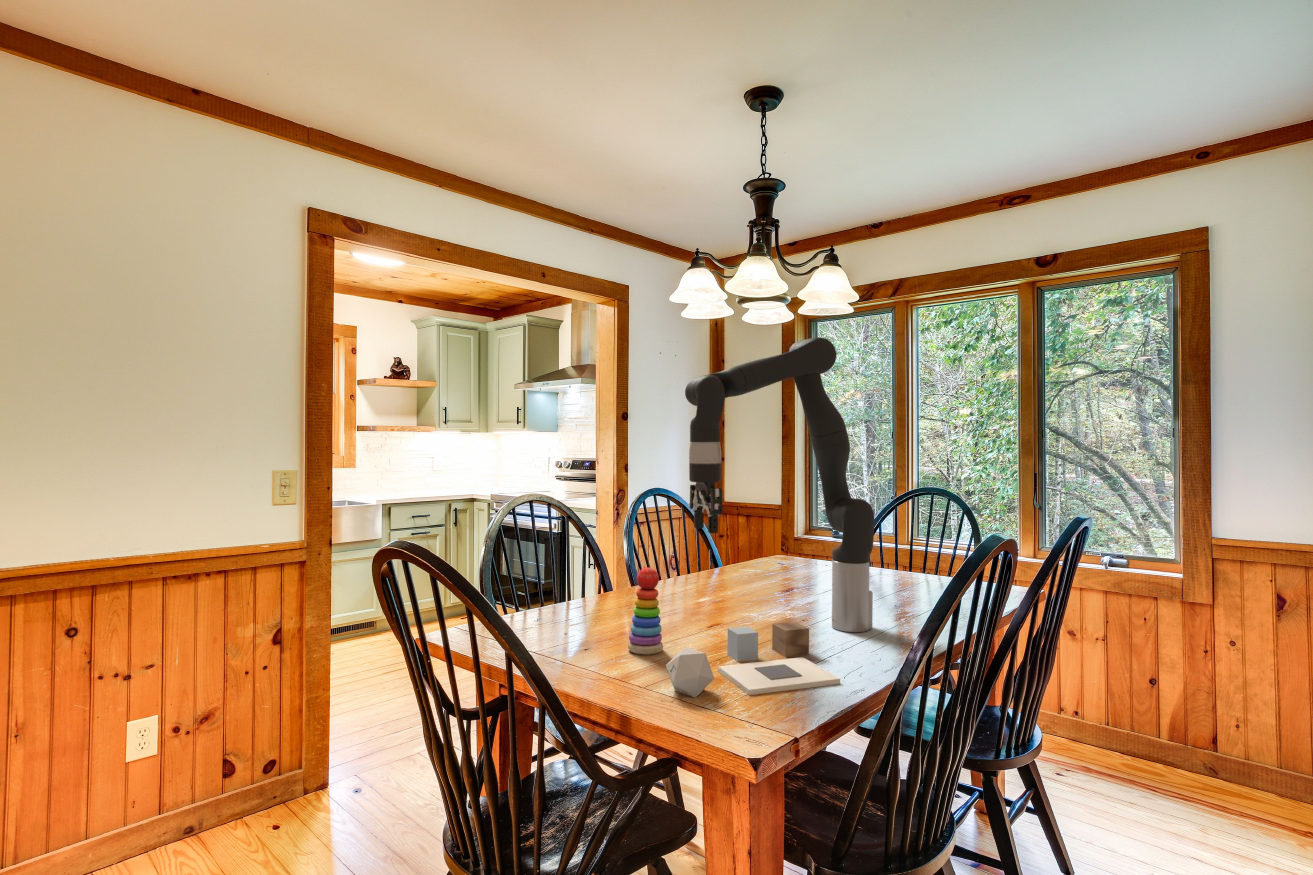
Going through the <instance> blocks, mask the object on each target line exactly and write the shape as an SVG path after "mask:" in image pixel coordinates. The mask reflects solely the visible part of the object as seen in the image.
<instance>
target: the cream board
mask: <svg viewBox="0 0 1313 875" xmlns="http://www.w3.org/2000/svg"><path fill="white" fill-rule="evenodd" d="M717 669H718V672H719V673H720V674H721V675H722V676H724V677H725V678H727V679H728V680H729V681H730V682H731V683H733V685H735V686H737V687H738V688H739V689H741V690H742V691H743V692H744V693H746V694H747V695H748V696H752V695H753V696H754V695H760V694H761V695H762V694H767V693H768V694H769V693H777V692H785V691H786V692H787V691H792V690H801V689H808V688H816V687H824V686H825V687H827V686H831V685H838V684H839V685H840V684H841V678H840V677H838V676H836V674H833V673H831V672H830V671H828V670H826V669H824V668H822V666H818V665H817V664H815V663H813V661H810V660H808V659H807V658H805V657H803V656H802V657H801V656H799V657H794V658H793V657H790V658H784V659H783V658H782V659H775V660H773V659H772V660H765V661H758V662H757V661H756V662H747V663H746V662H745V663H738V664H729V665H728V664H727V665H721V666H718V668H717Z"/></svg>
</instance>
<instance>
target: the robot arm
mask: <svg viewBox="0 0 1313 875" xmlns="http://www.w3.org/2000/svg"><path fill="white" fill-rule="evenodd" d="M788 350H789V351H786V352H784V353H781V354H777V355H774V356H768V357H764V358H760V359H759V358H758V359H754V360H752V361H748V362H745V363H740V364H738V365H734V366H731V367H729V368H726V369H724V370H721V371H718V372H713V373H709V374H705V375H704V374H703V375H700V376H697V377H694V378H693V379H691V380H689V382H688V383H687V385H686V387H685V390H684V395H685V399H686V400H687V402H688V403H689V404H691V405H693V406H695V407H696V412H695V417H693V418H692V419H691V420H690V425H689V437H690V438H689V450H688V451H689V454H688V456H689V457H688V460H689V461H688V462H689V464H688V465H689V467H688V469H689V470H688V472H689V473H688V474H689V477H688V478H689V482H691V483H695V484H690V485H689V509H690V510H692V513H693V527H694V529H700V530H701V529H703V528H704V527H705V524H704V523H705V521H704V520H705V518H704V517H705V516H704V514H705V513H704V511H705V510H706V514H707V533H709V534H717V533H718V532H719V517H720V515H723V514H724V510H723V509H724V506H723V505H724V504H723V489H722V487H716V483H720V482H721V481H722V448H721V426H720V423H721V419H722V418H723V417H722V416H723V412H724V407H725V400H726V399H727V398H734V397H738V396H741V395H742V396H743V395H745V394H749V393H751V392H754V391H757V390H759V389H762V388H765V387H768V386H770V385H773V384H776V383H779V382H782V381H785V380H788V379H791V378H793V380H794V384H795V385H796V386H795V387H796V390H797V391H798V395H799V398H800V402H801V406H802V409H803V414H804V417H805V420H806V425H807V428H808V433H809V438H810V441H811V442H810V443H811V446H812V450H813V453H814V456H815V461H816V465H817V466H816V467H817V469H818V474H819V477H820V482H821V488H822V493H823V494H822V495H823V501H824V502H823V504H824V510H825V515H826V519H827V522H828V524H829V526H830V527H831V528H832V529H833V530H835V531H836V532H838V533H842V540H841V544H840V545H839V546H837V547H834V548H833V549H832V555H831V556H832V560H831V561H832V562H831V563H832V564H831V565H832V567H831V568H832V569H831V581H832V582H831V588H832V589H831V627H832V628H833V629H835V630H837V631H841V632H849V633H863V632H867V631H869V630H872V629H873V617H874V616H873V613H874V612H873V610H874V609H873V607H874V605H873V604H874V603H873V600H874V599H873V596H874V595H873V593H874V592H873V591H872V590H870V560H871V559H870V558H871V554H872V551H873V548H874V536H875V534H874V533H875V514H874V509H873V507H872V505H871V504H870V502H868V501H866V500H865V499H859V498H855V497H852V496H851V492H850V489H849V486H848V482H847V467H848V463H849V458H850V454H851V453H850V452H851V442H850V438H849V434H848V430H847V426H846V422H845V420H844V418H843V416H842V414H841V413H840V411H839V410H838V409H837V407H836V406H835V404H834V403H833V402H832V400H831V399H830V398H829V396H828V394H827V392H826V390H825V388H824V384H823V380H822V376H821V375H823V374H824V373H825V374H826V373H827V372H828V371H830V370H831V369H832V368H833V367H834V366H835V363H836V361H837V350H836V347H835V346H834V343H833V342H831V341H830V340H829V339H828V338H825V337H820V336H819V337H818V336H817V337H810V338H806V339H802V340H798V341H795V342H794V343H793V344H792V345H790V347H789V349H788Z"/></svg>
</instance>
